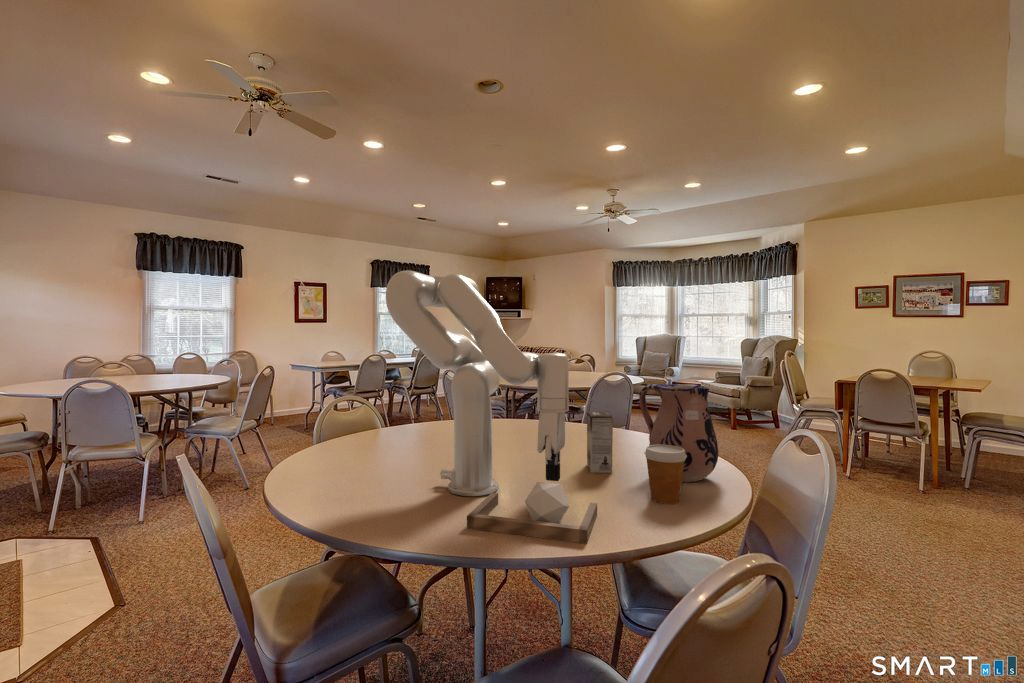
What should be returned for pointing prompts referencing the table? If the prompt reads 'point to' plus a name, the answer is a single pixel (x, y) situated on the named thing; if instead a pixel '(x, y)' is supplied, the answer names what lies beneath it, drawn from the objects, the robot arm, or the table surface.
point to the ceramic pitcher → (684, 426)
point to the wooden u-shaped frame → (530, 523)
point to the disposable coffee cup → (665, 472)
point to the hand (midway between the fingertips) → (552, 479)
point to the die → (547, 503)
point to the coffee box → (599, 441)
